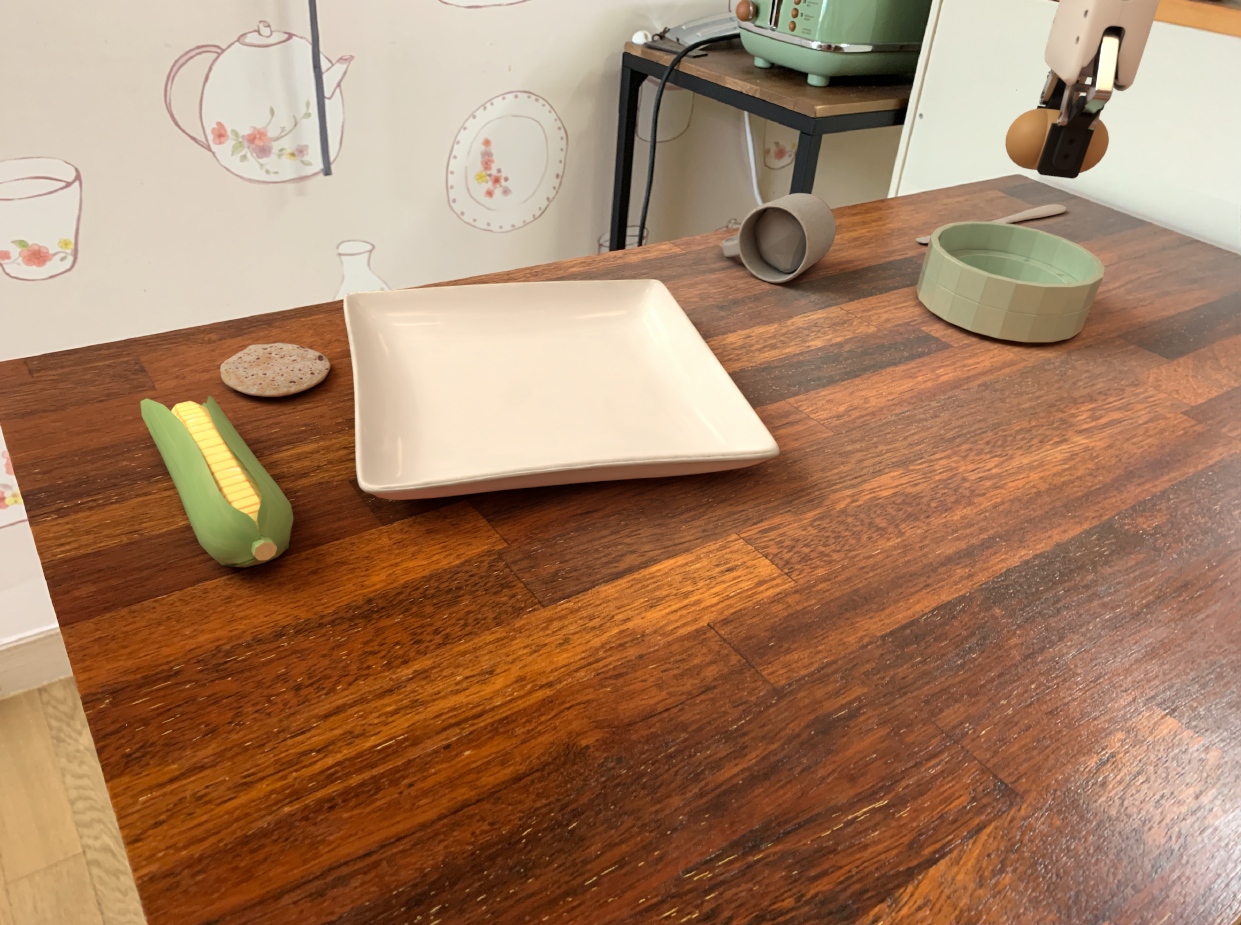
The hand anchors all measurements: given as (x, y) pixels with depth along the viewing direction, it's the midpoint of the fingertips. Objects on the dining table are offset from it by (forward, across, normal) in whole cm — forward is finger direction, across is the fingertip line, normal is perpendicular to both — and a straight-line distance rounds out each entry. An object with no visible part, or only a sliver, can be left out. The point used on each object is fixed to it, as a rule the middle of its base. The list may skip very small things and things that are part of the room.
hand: (1049, 163), depth 78 cm
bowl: (+15, +3, -1) cm, 15 cm away
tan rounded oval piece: (+1, 0, 0) cm, 1 cm away
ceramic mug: (+15, +7, +21) cm, 27 cm away
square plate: (+15, -25, +38) cm, 48 cm away
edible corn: (+15, -41, +54) cm, 70 cm away
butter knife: (+15, +28, -4) cm, 32 cm away
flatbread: (+15, -27, +58) cm, 65 cm away
